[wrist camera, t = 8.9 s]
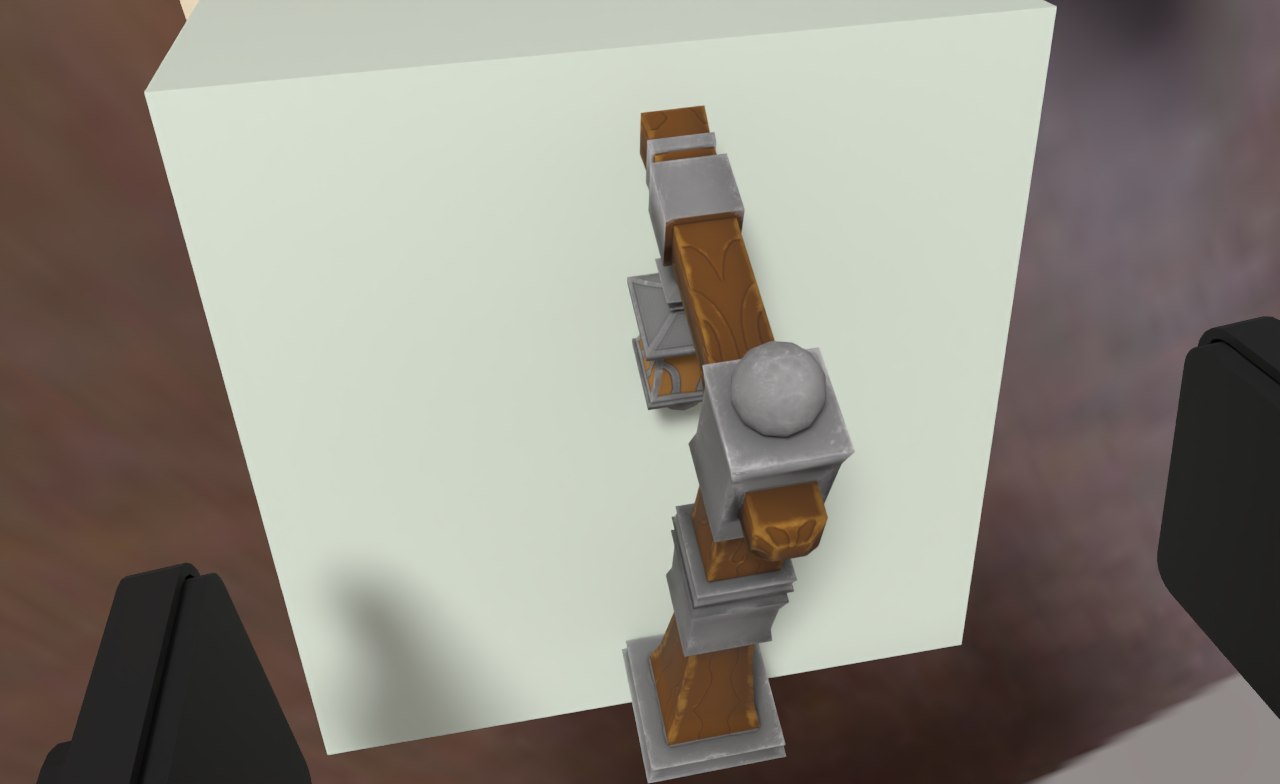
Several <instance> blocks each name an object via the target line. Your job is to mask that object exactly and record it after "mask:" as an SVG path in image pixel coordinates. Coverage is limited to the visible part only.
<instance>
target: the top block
mask: <svg viewBox="0 0 1280 784" xmlns="http://www.w3.org/2000/svg"><path fill="white" fill-rule="evenodd" d="M1056 9H1057V6H1055V5H1052V4H1050V3H1048V2H1046V1H1044V0H199V1H198V3H197V5H196V6H195V8H194V10H193V11H192V13H191V15H190V16H189V18H188V20H187V21H186V23H185V25H184V26H183V28H182V30H181V31H180V33H179V35H178V37H177V38H176V40H175V42H174V43H173V45H172V47H171V48H170V50H169V52H168V53H167V55H166V57H165V58H164V60H163V62H162V63H161V65H160V67H159V68H158V70H157V72H156V74H155V75H154V77H153V79H152V80H151V82H150V84H149V85H148V87H147V89H146V90H145V92H144V93H145V97H146V100H147V104H148V108H149V111H150V115H151V118H152V122H153V126H154V129H155V133H156V137H157V140H158V144H159V147H160V151H161V155H162V158H163V162H164V165H165V169H166V173H167V176H168V180H169V184H170V187H171V191H172V194H173V198H174V202H175V205H176V209H177V212H178V216H179V220H180V223H181V227H182V231H183V234H184V238H185V241H186V245H187V249H188V252H189V256H190V259H191V263H192V267H193V270H194V274H195V278H196V281H197V285H198V288H199V292H200V296H201V299H202V303H203V306H204V310H205V314H206V317H207V321H208V325H209V328H210V332H211V335H212V339H213V343H214V346H215V350H216V353H217V357H218V361H219V364H220V368H221V372H222V375H223V379H224V382H225V386H226V390H227V393H228V397H229V401H230V404H231V408H232V411H233V415H234V419H235V422H236V426H237V429H238V433H239V437H240V440H241V444H242V448H243V451H244V455H245V458H246V462H247V466H248V469H249V473H250V476H251V480H252V484H253V487H254V491H255V495H256V498H257V502H258V505H259V509H260V513H261V516H262V520H263V523H264V527H265V531H266V534H267V538H268V542H269V545H270V549H271V552H272V556H273V560H274V563H275V567H276V570H277V574H278V578H279V581H280V585H281V589H282V592H283V596H284V599H285V603H286V607H287V610H288V614H289V617H290V621H291V625H292V628H293V632H294V636H295V639H296V643H297V646H298V650H299V654H300V657H301V661H302V664H303V668H304V672H305V675H306V679H307V683H308V686H309V690H310V693H311V697H312V701H313V704H314V708H315V711H316V715H317V719H318V722H319V726H320V730H321V733H322V737H323V740H324V744H325V748H326V751H327V755H331V754H336V753H342V752H348V751H354V750H359V749H365V748H371V747H377V746H382V745H388V744H394V743H399V742H405V741H411V740H417V739H422V738H428V737H434V736H440V735H445V734H451V733H457V732H463V731H468V730H474V729H480V728H486V727H491V726H497V725H503V724H508V723H514V722H520V721H526V720H531V719H537V718H543V717H549V716H554V715H560V714H566V713H572V712H577V711H583V710H589V709H595V708H600V707H606V706H612V705H617V704H623V703H629V702H632V699H631V694H630V689H629V684H628V679H627V674H626V669H625V664H624V658H623V653H622V649H625V648H627V645H626V641H629V640H634V639H640V638H645V637H651V636H657V635H662V634H665V632H666V630H667V627H668V625H669V622H670V620H671V618H672V615H673V613H674V609H673V605H672V600H671V596H670V592H669V587H668V583H667V578H666V574H667V573H668V571H669V570H670V569H671V568H672V562H673V553H674V542H673V538H672V533H671V530H674V525H673V521H672V517H673V516H675V515H676V514H677V511H676V507H675V506H680V505H686V504H692V503H695V500H696V496H697V492H698V488H699V482H698V479H697V475H696V471H695V467H694V463H693V459H692V456H691V452H690V448H689V444H688V443H689V442H690V441H691V439H692V438H693V437H694V435H695V434H696V432H697V427H698V422H699V416H700V411H701V406H702V402H699V403H698V404H697V405H696V406H694V407H692V408H689V409H687V410H684V411H682V410H671V409H669V408H667V407H666V408H659V409H653V410H648V408H647V404H646V400H645V395H644V391H643V387H642V383H641V378H640V374H639V370H638V366H637V362H636V357H635V353H634V349H633V345H632V339H633V338H637V337H638V336H639V334H640V333H639V329H638V325H637V321H636V317H635V313H634V309H633V305H632V300H631V296H630V292H629V288H628V284H627V277H632V276H639V275H646V274H653V273H658V269H657V265H656V262H655V259H658V258H661V257H660V253H659V249H658V245H657V242H656V238H655V234H654V230H653V226H652V222H651V219H650V215H649V211H648V208H649V189H648V187H647V184H646V169H645V166H644V164H643V161H642V159H641V156H640V122H641V113H644V112H652V111H661V110H669V109H677V108H686V107H694V106H703V105H704V106H705V111H706V115H707V120H708V125H709V130H710V132H715V137H716V154H717V155H718V154H726V153H727V156H728V159H729V162H730V165H731V168H732V171H733V174H734V178H735V181H736V184H737V187H738V190H739V193H740V196H741V199H742V203H743V206H744V209H745V212H744V219H743V226H742V233H741V234H742V237H743V240H744V243H745V247H746V250H747V253H748V256H749V259H750V263H751V266H752V269H753V272H754V275H755V279H756V282H757V285H758V288H759V291H760V295H761V298H762V301H763V304H764V308H765V311H766V314H767V317H768V320H769V324H770V327H771V330H772V333H773V336H774V340H775V341H778V342H792V343H794V344H796V345H798V346H800V347H801V348H803V349H811V348H818V347H819V349H820V352H821V354H822V357H823V360H824V363H825V366H826V369H827V372H828V375H829V378H830V381H831V383H832V386H833V389H834V392H835V395H836V398H837V401H838V404H839V407H840V410H841V412H842V415H843V418H844V421H845V424H846V427H847V430H848V433H849V436H850V439H851V441H852V444H853V447H854V450H855V452H854V453H853V454H852V455H851V456H850V457H849V458H848V459H847V460H845V461H844V462H843V463H842V464H841V467H840V469H839V471H838V473H837V476H836V478H835V480H834V483H833V485H832V487H831V490H830V492H829V494H828V496H827V499H826V501H825V503H824V506H825V509H826V513H827V516H828V519H827V522H826V525H825V528H824V531H823V534H822V537H821V540H820V543H819V546H818V547H817V548H816V549H814V550H813V551H812V552H811V553H810V554H808V555H807V556H803V557H797V558H791V560H792V564H793V567H794V571H795V574H796V578H797V581H795V582H793V583H792V585H793V589H794V592H790V593H787V596H788V600H789V603H787V604H786V605H784V606H783V607H781V608H780V609H779V611H778V613H777V615H776V618H775V620H774V622H773V625H772V627H771V635H772V641H769V642H763V643H759V647H760V650H761V654H762V658H763V662H764V665H765V669H766V673H767V677H768V678H772V677H778V676H784V675H790V674H795V673H801V672H807V671H813V670H818V669H824V668H830V667H835V666H841V665H847V664H853V663H858V662H864V661H870V660H876V659H881V658H887V657H893V656H899V655H904V654H910V653H916V652H921V651H927V650H933V649H939V648H944V647H950V646H956V645H961V644H962V637H963V630H964V623H965V617H966V610H967V603H968V597H969V590H970V583H971V577H972V570H973V563H974V557H975V550H976V543H977V537H978V530H979V523H980V517H981V510H982V503H983V497H984V490H985V483H986V477H987V470H988V463H989V457H990V450H991V443H992V437H993V430H994V423H995V416H996V410H997V403H998V396H999V390H1000V383H1001V376H1002V370H1003V363H1004V356H1005V350H1006V343H1007V336H1008V330H1009V323H1010V316H1011V310H1012V303H1013V296H1014V290H1015V283H1016V276H1017V270H1018V263H1019V256H1020V250H1021V243H1022V236H1023V230H1024V223H1025V216H1026V209H1027V203H1028V196H1029V189H1030V183H1031V176H1032V169H1033V163H1034V156H1035V149H1036V143H1037V136H1038V129H1039V123H1040V116H1041V109H1042V103H1043V96H1044V89H1045V83H1046V76H1047V69H1048V63H1049V56H1050V49H1051V43H1052V36H1053V29H1054V22H1055V16H1056Z"/></svg>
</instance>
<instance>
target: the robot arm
mask: <svg viewBox="0 0 1280 784" xmlns="http://www.w3.org/2000/svg"><path fill="white" fill-rule="evenodd" d="M1157 562H1158V568H1159V572H1160V575H1161V578H1162V580H1163V582H1164V584H1165V586H1166V587H1167V589H1168V590H1169V592H1170V593H1171V594H1172V595H1173V597H1174V598H1175V599H1176V600H1177V601H1178V602H1179V604H1180V605H1181V606H1182V607H1183V608H1184V609H1185V610H1186V612H1187V613H1188V614H1189V615H1190V616H1191V617H1192V619H1193V620H1194V621H1195V622H1196V623H1197V624H1198V625H1199V627H1200V628H1201V629H1202V630H1203V631H1204V632H1205V634H1206V635H1207V636H1208V637H1209V638H1210V639H1211V641H1212V642H1213V643H1214V644H1215V645H1216V646H1217V647H1218V649H1219V650H1220V651H1221V652H1222V653H1223V654H1224V656H1225V657H1226V658H1227V659H1228V660H1229V661H1230V662H1231V664H1232V665H1233V666H1234V667H1235V668H1236V669H1237V671H1238V672H1239V673H1240V674H1241V675H1242V676H1243V677H1244V679H1245V680H1246V681H1247V682H1248V683H1249V684H1250V686H1251V687H1252V688H1253V689H1254V690H1255V691H1256V693H1257V694H1258V695H1259V696H1260V697H1261V698H1262V699H1263V701H1264V702H1265V703H1266V704H1267V705H1268V706H1269V708H1270V709H1271V710H1272V711H1273V712H1274V713H1275V714H1276V716H1277V717H1278V718H1279V719H1280V320H1278V319H1276V318H1274V317H1259V318H1254V319H1250V320H1246V321H1241V322H1237V323H1233V324H1228V325H1224V326H1219V327H1215V328H1211V329H1210V330H1208V331H1206V332H1205V333H1204V334H1203V335H1202V337H1201V338H1200V340H1199V344H1198V347H1195V348H1193V349H1191V350H1190V351H1189V353H1188V354H1187V356H1186V359H1185V363H1184V370H1183V377H1182V384H1181V391H1180V398H1179V405H1178V412H1177V419H1176V426H1175V433H1174V440H1173V447H1172V454H1171V461H1170V468H1169V475H1168V482H1167V489H1166V496H1165V503H1164V510H1163V517H1162V524H1161V531H1160V538H1159V545H1158V553H1157ZM36 784H312V783H311V777H310V773H309V770H308V767H307V764H306V761H305V759H304V757H303V755H302V753H301V751H300V748H299V746H298V744H297V742H296V740H295V737H294V735H293V733H292V731H291V729H290V727H289V724H288V722H287V720H286V718H285V716H284V713H283V711H282V709H281V707H280V705H279V703H278V700H277V698H276V696H275V694H274V692H273V690H272V687H271V685H270V683H269V681H268V679H267V676H266V674H265V672H264V670H263V668H262V666H261V663H260V661H259V659H258V657H257V655H256V652H255V650H254V648H253V646H252V644H251V642H250V639H249V637H248V635H247V633H246V631H245V629H244V626H243V624H242V622H241V620H240V618H239V615H238V613H237V611H236V609H235V607H234V605H233V602H232V600H231V598H230V596H229V594H228V591H227V589H226V587H225V585H224V583H223V581H222V580H221V578H220V577H219V576H218V575H217V574H215V573H211V574H206V575H202V576H200V574H199V572H198V570H197V569H196V568H195V567H194V566H193V565H192V564H190V563H183V564H178V565H174V566H170V567H165V568H161V569H156V570H152V571H148V572H143V573H139V574H135V575H130V576H126V577H125V578H123V579H122V580H121V581H120V583H119V585H118V587H117V590H116V594H115V597H114V600H113V604H112V607H111V610H110V614H109V617H108V620H107V624H106V627H105V630H104V634H103V637H102V640H101V644H100V647H99V650H98V654H97V657H96V660H95V664H94V667H93V670H92V674H91V677H90V680H89V684H88V687H87V690H86V694H85V697H84V700H83V704H82V707H81V711H80V714H79V717H78V721H77V724H76V727H75V731H74V734H73V737H72V741H68V742H64V743H60V744H57V745H56V746H55V747H54V748H53V749H52V750H51V751H50V752H49V753H48V755H47V757H46V759H45V762H44V764H43V766H42V768H41V771H40V774H39V777H38V780H37V783H36Z"/></svg>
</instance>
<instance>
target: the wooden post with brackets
mask: <svg viewBox="0 0 1280 784" xmlns="http://www.w3.org/2000/svg"><path fill="white" fill-rule="evenodd" d="M640 156H641V159H642V161H643V164H644V166H645V169H646V184H647V187H648V189H649V208H648V211H649V215H650V219H651V222H652V226H653V230H654V234H655V238H656V242H657V245H658V249H659V253H660V257H661V258H658V259H655V262H656V265H657V269H658V273H653V274H646V275H639V276H632V277H627V284H628V288H629V292H630V296H631V300H632V305H633V309H634V313H635V317H636V321H637V325H638V329H639V333H640V334H639V336H638V337H637V338H633V339H632V345H633V349H634V353H635V357H636V362H637V366H638V370H639V374H640V378H641V383H642V387H643V391H644V395H645V400H646V404H647V408H648V410H653V409H659V408H666V407H667V408H669V409H671V410H682V411H684V410H687V409H689V408H692V407H694V406H696V405H697V404H698V403H699V402H702V406H701V411H700V416H699V422H698V427H697V432H696V434H695V435H694V437H693V438H692V439H691V441H690V442H689V443H688V444H689V448H690V452H691V456H692V459H693V463H694V467H695V471H696V475H697V479H698V482H699V488H698V492H697V496H696V500H695V503H692V504H686V505H680V506H675V507H676V511H677V514H676V515H675V516H673V517H672V521H673V525H674V530H671V533H672V538H673V542H674V553H673V562H672V568H671V569H670V570H669V571H668V573H667V574H666V578H667V583H668V587H669V592H670V596H671V600H672V605H673V609H674V613H673V615H672V618H671V620H670V622H669V625H668V627H667V630H666V632H665V634H662V635H657V636H651V637H645V638H640V639H634V640H629V641H626V645H627V648H625V649H622V653H623V658H624V664H625V669H626V674H627V679H628V684H629V689H630V694H631V699H632V704H633V710H634V715H635V720H636V725H637V730H638V735H639V740H640V745H641V751H642V756H643V761H644V766H645V771H646V776H647V781H648V783H653V782H658V781H663V780H668V779H673V778H678V777H684V776H689V775H694V774H699V773H704V772H709V771H714V770H720V769H725V768H730V767H735V766H740V765H745V764H750V763H756V762H761V761H766V760H771V759H776V758H781V757H786V754H785V750H784V746H783V745H786V744H785V741H784V737H783V733H782V729H781V726H780V722H779V718H778V714H777V711H776V707H775V703H774V699H773V696H772V692H771V688H770V684H769V680H768V677H767V673H766V669H765V665H764V662H763V658H762V654H761V650H760V647H759V643H763V642H769V641H772V635H771V627H772V625H773V622H774V620H775V618H776V615H777V613H778V611H779V609H780V608H781V607H783V606H784V605H786V604H787V603H789V600H788V596H787V593H790V592H794V589H793V585H792V583H793V582H795V581H797V578H796V574H795V571H794V567H793V564H792V560H791V558H797V557H803V556H807V555H808V554H810V553H811V552H812V551H813V550H814V549H816V548H817V547H818V546H819V543H820V540H821V537H822V534H823V531H824V528H825V525H826V522H827V519H828V516H827V513H826V509H825V506H824V503H825V501H826V499H827V496H828V494H829V492H830V490H831V487H832V485H833V483H834V480H835V478H836V476H837V473H838V471H839V469H840V467H841V464H842V463H843V462H844V461H845V460H847V459H848V458H849V457H850V456H851V455H852V454H853V453H854V452H855V450H854V447H853V444H852V441H851V439H850V436H849V433H848V430H847V427H846V424H845V421H844V418H843V415H842V412H841V410H840V407H839V404H838V401H837V398H836V395H835V392H834V389H833V386H832V383H831V381H830V378H829V375H828V372H827V369H826V366H825V363H824V360H823V357H822V354H821V352H820V349H819V347H818V348H811V349H803V348H801V347H800V346H798V345H796V344H794V343H792V342H778V341H775V340H774V336H773V333H772V330H771V327H770V324H769V320H768V317H767V314H766V311H765V308H764V304H763V301H762V298H761V295H760V291H759V288H758V285H757V282H756V279H755V275H754V272H753V269H752V266H751V263H750V259H749V256H748V253H747V250H746V247H745V243H744V240H743V237H742V234H741V233H742V226H743V219H744V212H745V209H744V206H743V203H742V199H741V196H740V193H739V190H738V187H737V184H736V181H735V178H734V174H733V171H732V168H731V165H730V162H729V159H728V156H727V153H726V154H718V155H717V154H716V137H715V132H710V130H709V125H708V120H707V115H706V111H705V106H704V105H703V106H694V107H686V108H677V109H669V110H661V111H652V112H644V113H641V122H640Z"/></svg>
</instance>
